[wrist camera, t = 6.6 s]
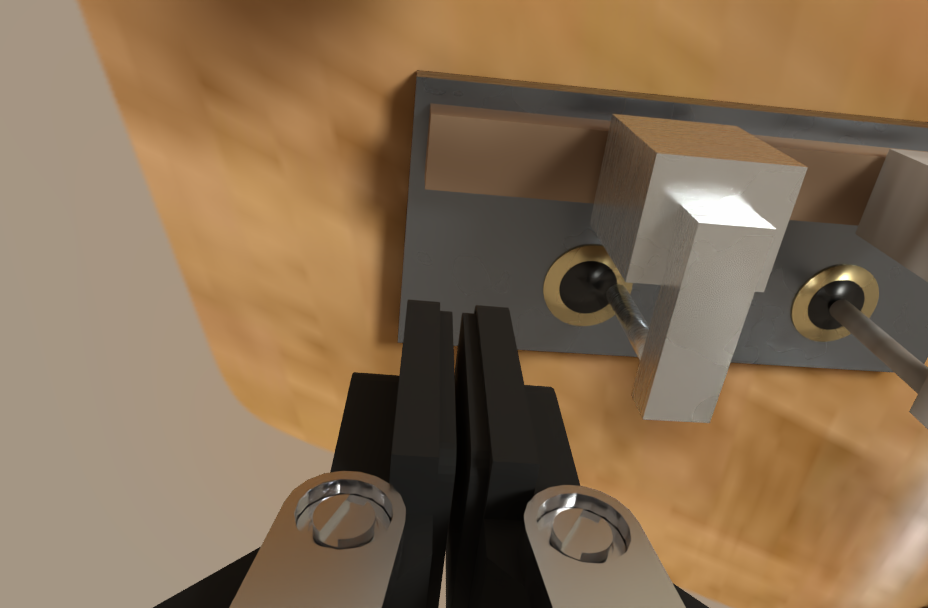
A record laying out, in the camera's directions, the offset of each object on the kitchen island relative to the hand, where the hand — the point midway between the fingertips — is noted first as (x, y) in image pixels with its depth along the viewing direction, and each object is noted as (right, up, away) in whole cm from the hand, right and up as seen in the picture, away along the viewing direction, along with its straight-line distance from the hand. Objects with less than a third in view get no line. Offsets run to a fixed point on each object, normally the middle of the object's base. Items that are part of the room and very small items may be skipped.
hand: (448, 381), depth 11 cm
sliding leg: (+6, +4, +13) cm, 15 cm away
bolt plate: (+9, +4, +15) cm, 18 cm away
